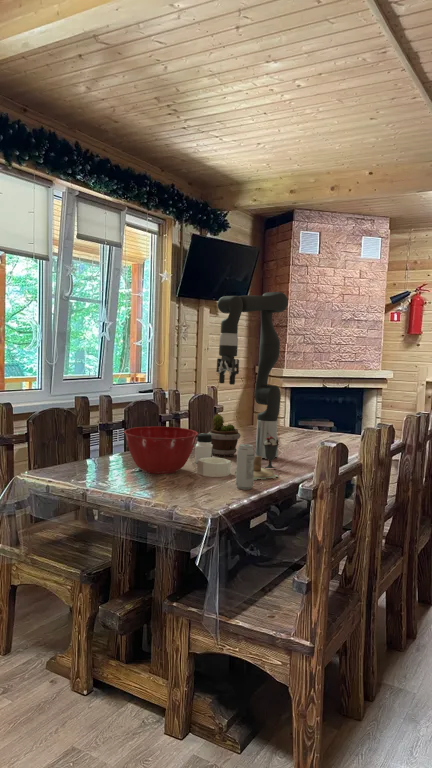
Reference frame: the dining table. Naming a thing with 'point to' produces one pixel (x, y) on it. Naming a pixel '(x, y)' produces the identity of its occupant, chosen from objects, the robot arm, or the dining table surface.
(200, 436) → the medicine bottle
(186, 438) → the mixing bowl
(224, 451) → the flowerpot
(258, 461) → the lid
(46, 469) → the dining table surface
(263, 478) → the mat
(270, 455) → the sundae
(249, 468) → the energy drink can
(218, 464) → the bowl
